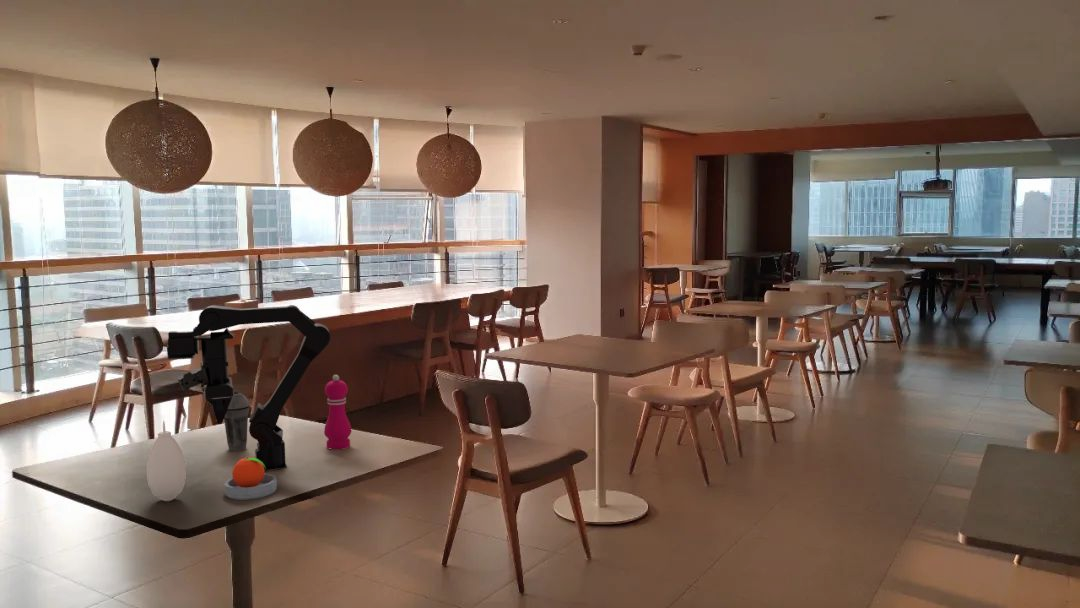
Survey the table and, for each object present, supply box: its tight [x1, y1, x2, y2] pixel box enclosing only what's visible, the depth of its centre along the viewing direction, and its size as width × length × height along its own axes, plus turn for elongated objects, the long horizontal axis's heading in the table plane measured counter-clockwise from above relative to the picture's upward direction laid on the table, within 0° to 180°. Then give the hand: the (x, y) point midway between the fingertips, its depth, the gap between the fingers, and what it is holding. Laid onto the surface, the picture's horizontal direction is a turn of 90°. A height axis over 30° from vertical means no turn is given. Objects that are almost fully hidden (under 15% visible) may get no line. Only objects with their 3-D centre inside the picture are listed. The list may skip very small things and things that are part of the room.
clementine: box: [231, 456, 266, 488], centre depth 186 cm, size 8×7×7 cm
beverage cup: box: [223, 376, 251, 452], centre depth 222 cm, size 7×7×20 cm
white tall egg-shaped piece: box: [146, 420, 187, 502], centre depth 181 cm, size 8×8×18 cm
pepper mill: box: [323, 374, 352, 450], centre depth 223 cm, size 7×7×20 cm
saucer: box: [224, 472, 278, 501], centre depth 187 cm, size 11×11×3 cm
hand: (217, 420), depth 202 cm, fingers open, 9 cm apart
